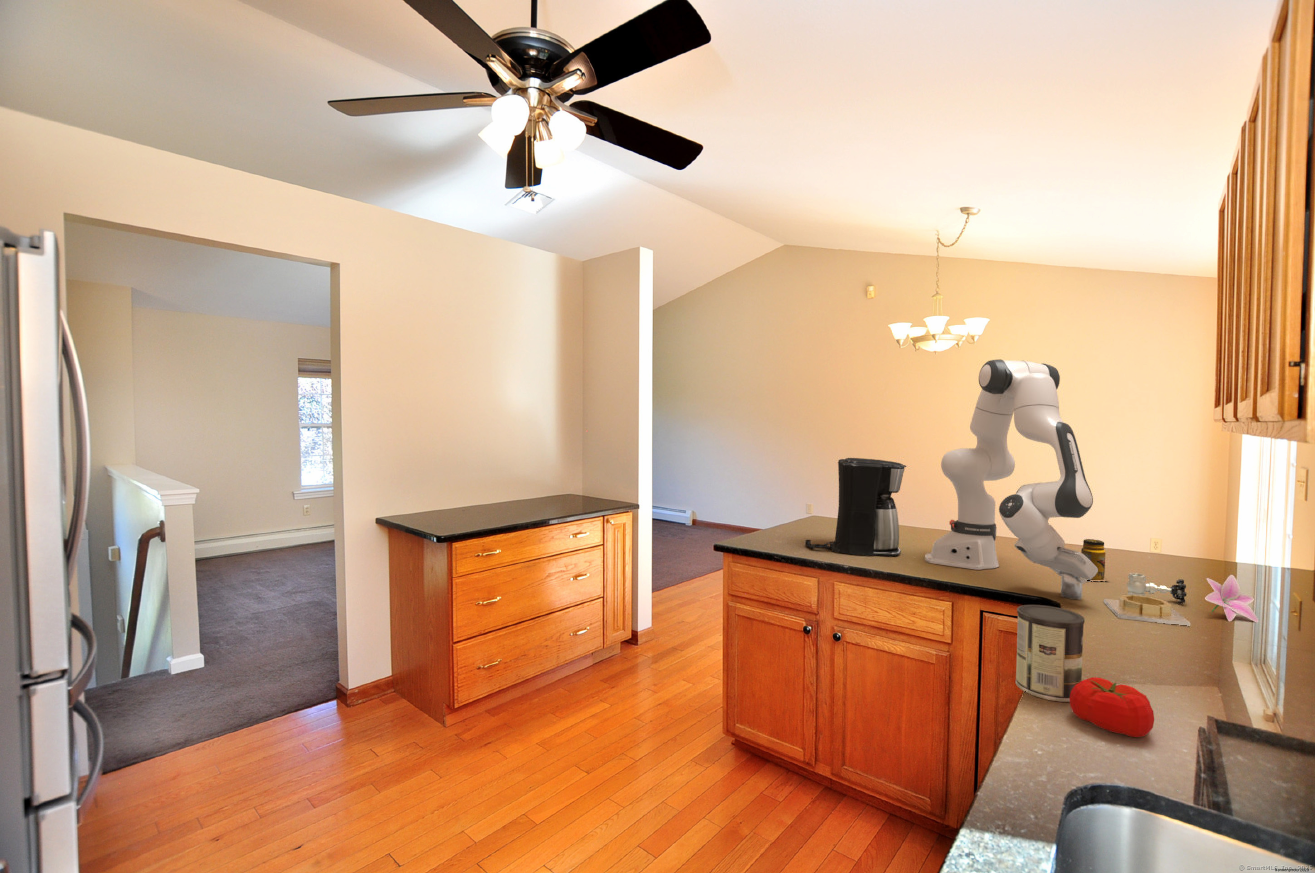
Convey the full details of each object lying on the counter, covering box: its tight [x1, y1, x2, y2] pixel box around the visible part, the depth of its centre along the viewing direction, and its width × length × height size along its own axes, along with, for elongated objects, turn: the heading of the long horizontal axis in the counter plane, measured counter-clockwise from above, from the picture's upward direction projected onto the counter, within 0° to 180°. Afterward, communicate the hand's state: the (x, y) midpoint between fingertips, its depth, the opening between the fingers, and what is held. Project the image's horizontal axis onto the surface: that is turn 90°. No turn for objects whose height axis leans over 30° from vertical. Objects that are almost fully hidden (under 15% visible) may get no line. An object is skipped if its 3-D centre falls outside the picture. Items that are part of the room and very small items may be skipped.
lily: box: [1204, 574, 1260, 623], centre depth 152 cm, size 12×12×10 cm
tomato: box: [1069, 676, 1155, 738], centre depth 97 cm, size 10×11×6 cm
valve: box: [1126, 572, 1188, 605], centre depth 165 cm, size 7×7×12 cm
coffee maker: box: [804, 457, 907, 557], centre depth 221 cm, size 23×32×34 cm
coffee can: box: [1015, 604, 1086, 703], centre depth 110 cm, size 10×10×14 cm
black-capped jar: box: [1060, 572, 1083, 600], centre depth 167 cm, size 5×5×9 cm
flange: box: [1103, 593, 1191, 627], centre depth 154 cm, size 14×14×3 cm
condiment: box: [1080, 538, 1106, 580], centre depth 186 cm, size 7×8×12 cm
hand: (1073, 578), depth 167 cm, fingers closed on black-capped jar, 5 cm apart
